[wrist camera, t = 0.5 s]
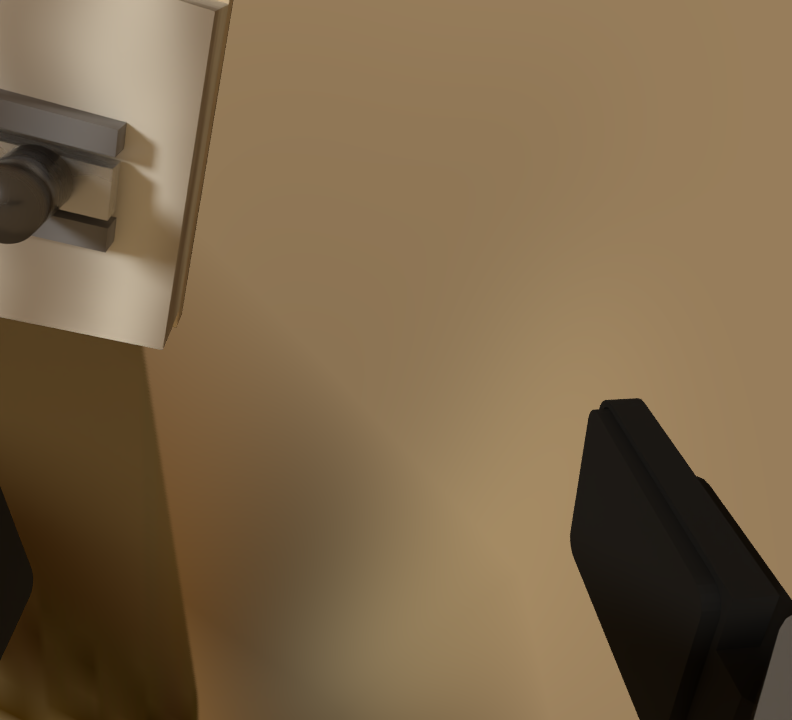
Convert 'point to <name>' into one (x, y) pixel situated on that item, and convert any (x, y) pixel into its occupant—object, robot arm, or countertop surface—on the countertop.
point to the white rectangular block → (112, 155)
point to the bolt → (51, 184)
